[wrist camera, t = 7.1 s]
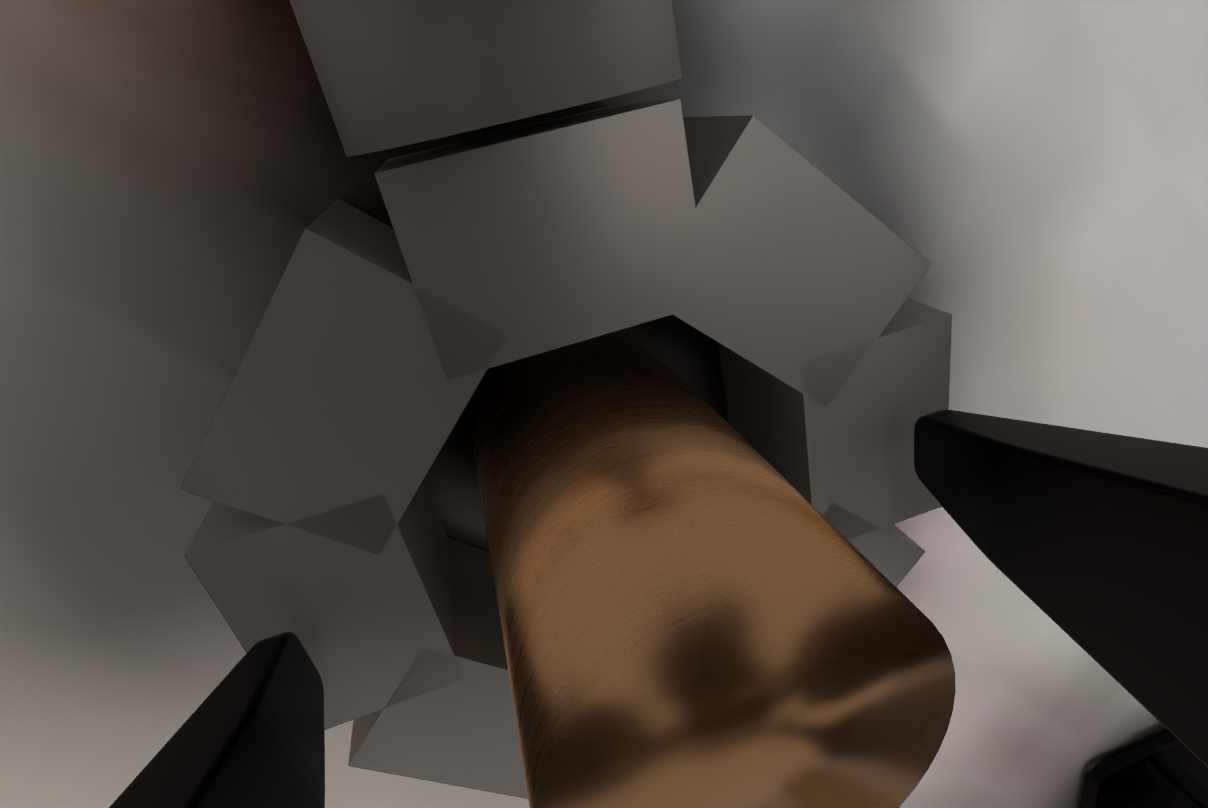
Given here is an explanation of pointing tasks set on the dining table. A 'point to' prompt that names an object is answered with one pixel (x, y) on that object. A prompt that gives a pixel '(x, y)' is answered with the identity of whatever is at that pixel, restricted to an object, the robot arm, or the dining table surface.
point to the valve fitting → (530, 342)
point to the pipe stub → (687, 605)
